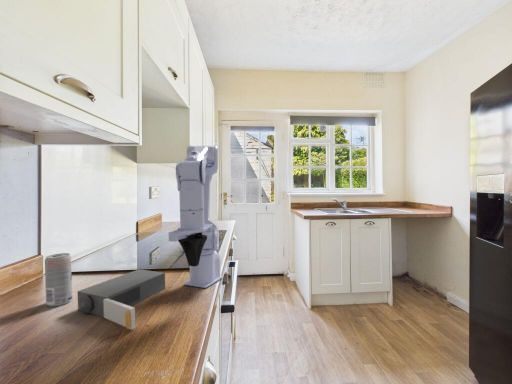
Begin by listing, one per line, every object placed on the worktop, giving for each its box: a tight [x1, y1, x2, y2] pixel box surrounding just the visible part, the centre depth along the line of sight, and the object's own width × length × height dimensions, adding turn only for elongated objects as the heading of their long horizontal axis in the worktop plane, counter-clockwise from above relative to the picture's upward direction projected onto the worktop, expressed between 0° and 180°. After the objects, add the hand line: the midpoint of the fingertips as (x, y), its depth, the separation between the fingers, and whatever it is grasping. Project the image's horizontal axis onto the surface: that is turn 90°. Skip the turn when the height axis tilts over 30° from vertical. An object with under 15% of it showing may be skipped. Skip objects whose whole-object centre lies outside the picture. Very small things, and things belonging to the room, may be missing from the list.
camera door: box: [103, 298, 136, 330], centre depth 55 cm, size 10×1×4 cm, turn 59°
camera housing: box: [77, 269, 166, 318], centre depth 68 cm, size 19×10×4 cm, turn 156°
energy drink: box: [44, 252, 73, 308], centre depth 67 cm, size 5×5×12 cm
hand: (193, 265), depth 65 cm, fingers closed
